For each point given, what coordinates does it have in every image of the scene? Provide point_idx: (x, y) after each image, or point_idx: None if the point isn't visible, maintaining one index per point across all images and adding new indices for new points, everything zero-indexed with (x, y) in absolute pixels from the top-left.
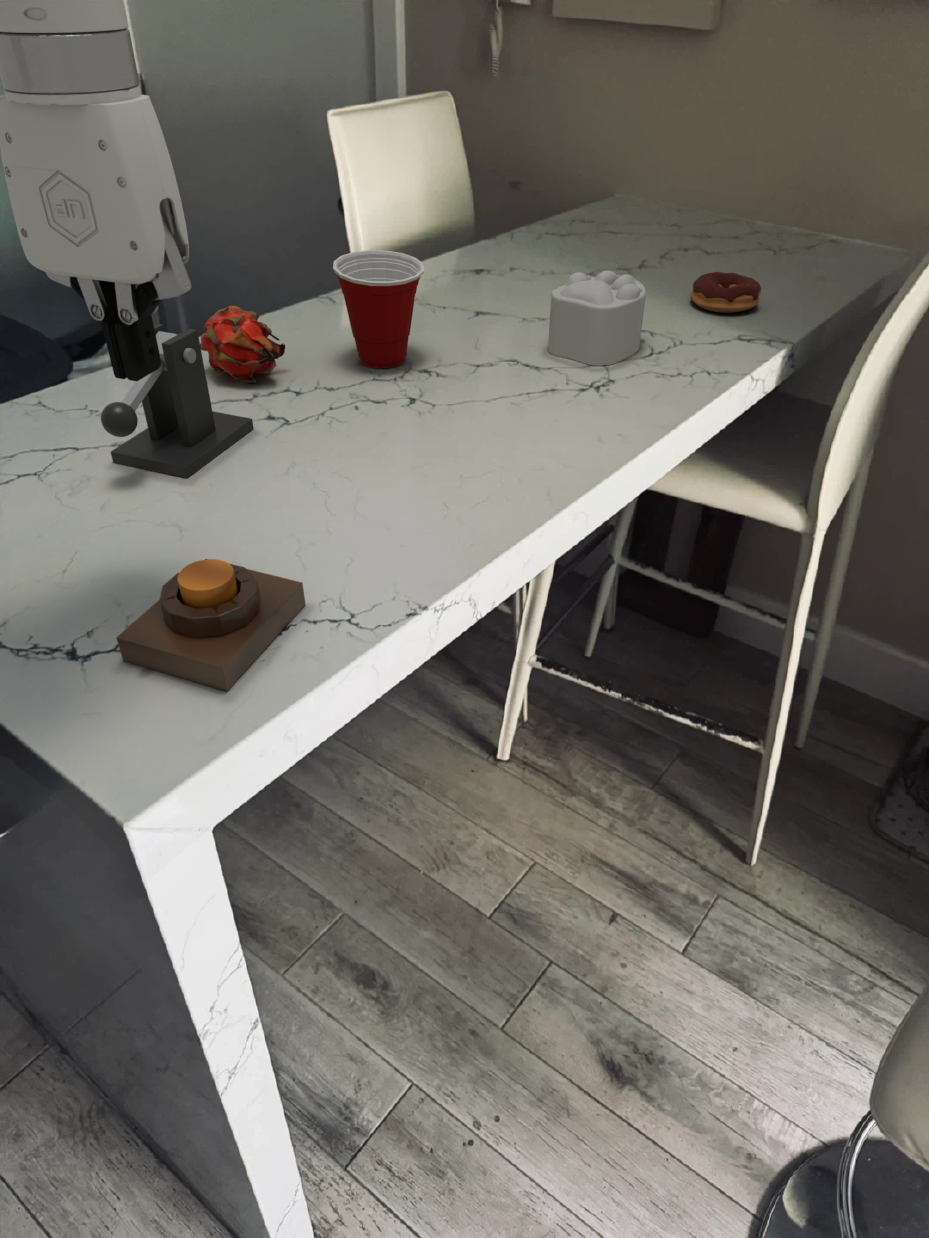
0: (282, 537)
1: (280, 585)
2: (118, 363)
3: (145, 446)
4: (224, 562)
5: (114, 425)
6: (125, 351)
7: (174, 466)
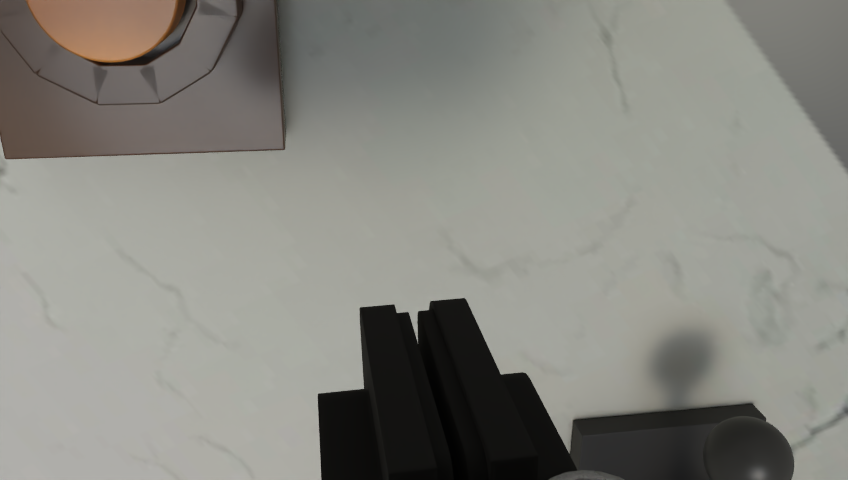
0: (248, 329)
1: (44, 128)
2: (442, 338)
3: None
4: (93, 54)
5: (739, 431)
6: (383, 379)
7: (608, 431)
